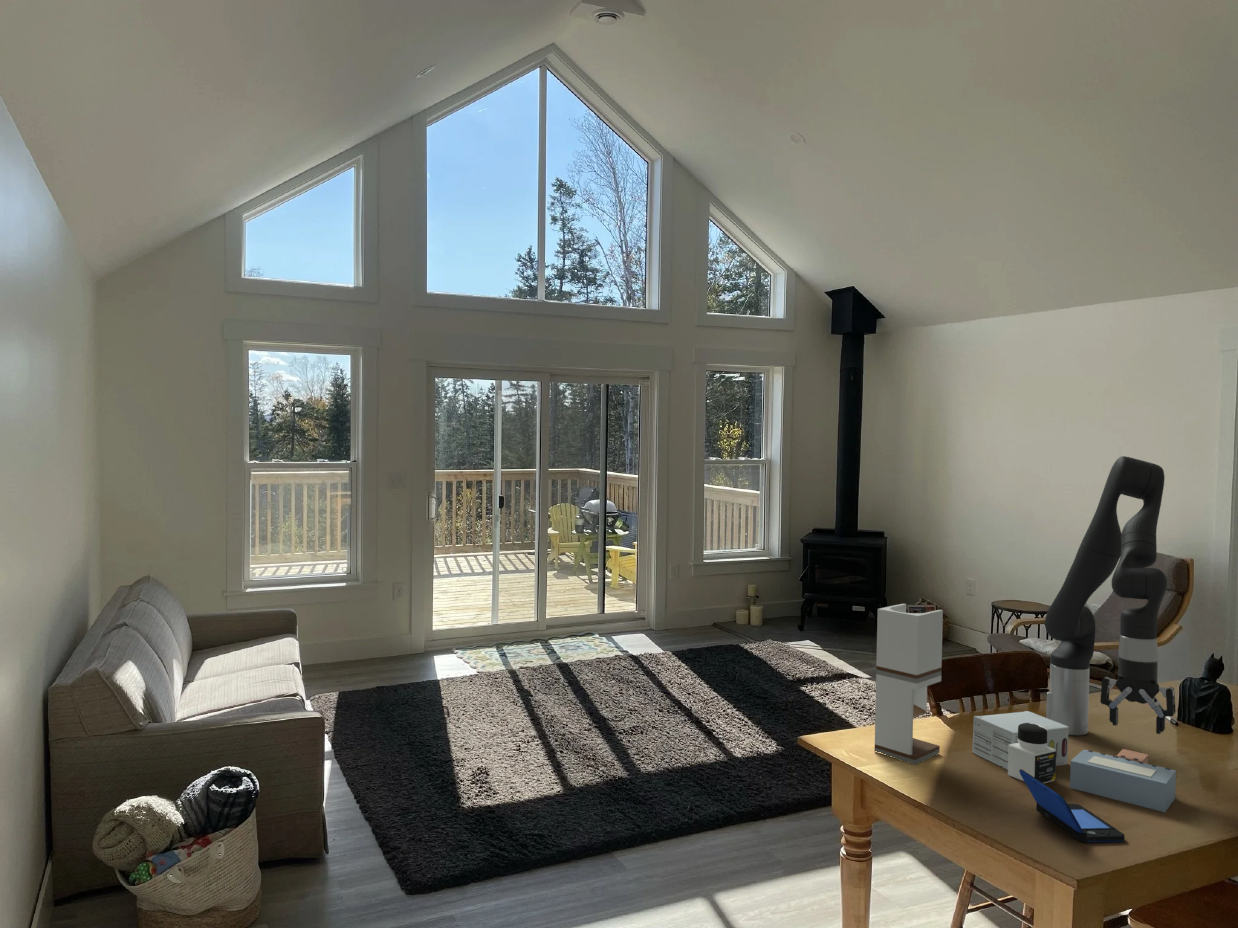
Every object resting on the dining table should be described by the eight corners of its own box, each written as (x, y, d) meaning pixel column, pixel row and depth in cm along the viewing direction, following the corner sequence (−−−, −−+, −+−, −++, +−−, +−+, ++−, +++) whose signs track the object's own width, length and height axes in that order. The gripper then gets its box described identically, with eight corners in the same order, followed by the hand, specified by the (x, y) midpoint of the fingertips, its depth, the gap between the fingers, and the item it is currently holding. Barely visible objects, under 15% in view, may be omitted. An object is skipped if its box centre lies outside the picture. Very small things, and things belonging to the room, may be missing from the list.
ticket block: (1069, 787, 191) (1070, 759, 191) (1082, 775, 198) (1083, 748, 198) (1165, 812, 179) (1166, 782, 178) (1175, 798, 186) (1176, 769, 186)
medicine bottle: (1034, 786, 191) (1036, 732, 191) (1007, 775, 198) (1008, 722, 197) (1056, 780, 195) (1057, 727, 194) (1028, 769, 201) (1029, 718, 201)
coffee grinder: (914, 764, 203) (918, 615, 202) (874, 752, 211) (877, 608, 210) (939, 753, 211) (942, 610, 210) (899, 742, 219) (903, 603, 218)
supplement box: (1012, 773, 199) (1013, 732, 199) (971, 753, 212) (972, 715, 212) (1069, 765, 205) (1070, 725, 205) (1026, 746, 217) (1027, 709, 217)
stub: (1115, 782, 194) (1116, 754, 194) (1122, 774, 199) (1123, 747, 198) (1141, 788, 191) (1141, 760, 191) (1147, 780, 195) (1148, 753, 195)
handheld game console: (1128, 843, 165) (1129, 795, 165) (1061, 845, 164) (1062, 797, 163) (1077, 808, 180) (1078, 764, 180) (1015, 810, 179) (1017, 766, 179)
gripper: (1098, 654, 196) (1097, 725, 196) (1172, 664, 187) (1170, 740, 187) (1106, 648, 202) (1105, 718, 202) (1178, 658, 192) (1177, 731, 193)
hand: (1136, 728), depth 194 cm, fingers open, 8 cm apart
